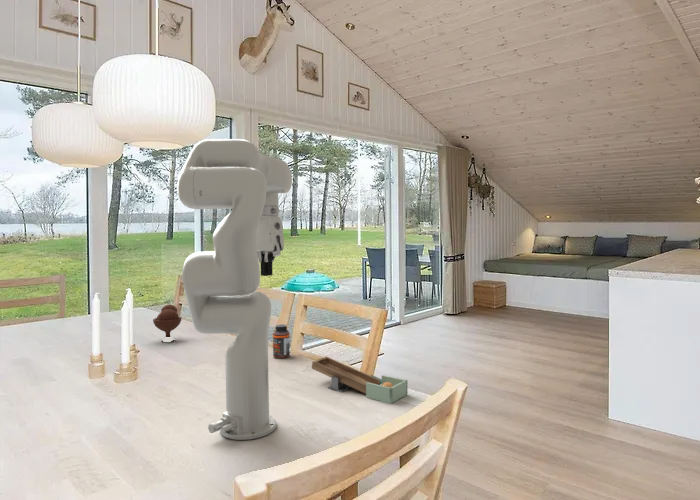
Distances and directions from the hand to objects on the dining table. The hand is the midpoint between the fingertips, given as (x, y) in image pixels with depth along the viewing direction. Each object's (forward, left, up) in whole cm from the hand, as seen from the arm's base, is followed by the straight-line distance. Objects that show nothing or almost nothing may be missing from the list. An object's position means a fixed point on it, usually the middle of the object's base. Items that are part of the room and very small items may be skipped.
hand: (266, 275), depth 138 cm
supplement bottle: (+23, +18, -32) cm, 44 cm away
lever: (+13, -20, -30) cm, 38 cm away
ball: (+11, -35, -30) cm, 47 cm away
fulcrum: (+11, -20, -32) cm, 39 cm away
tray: (+11, -34, -32) cm, 48 cm away
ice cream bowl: (+13, +74, -32) cm, 82 cm away
